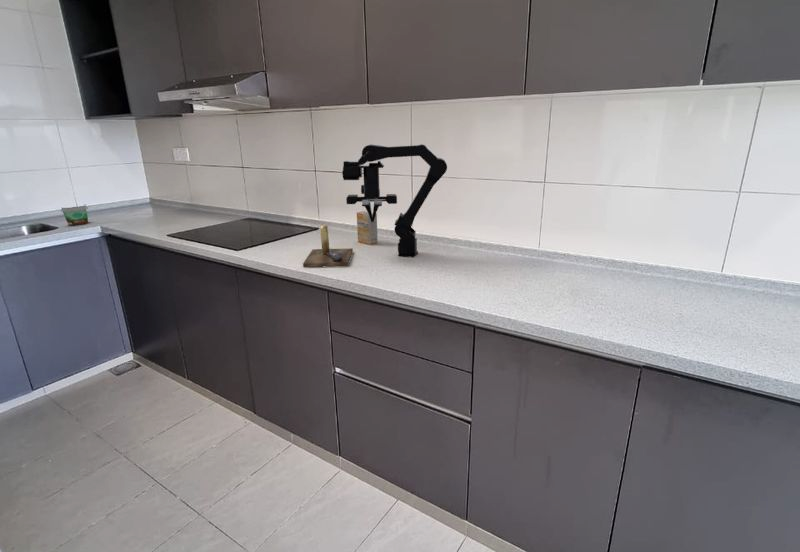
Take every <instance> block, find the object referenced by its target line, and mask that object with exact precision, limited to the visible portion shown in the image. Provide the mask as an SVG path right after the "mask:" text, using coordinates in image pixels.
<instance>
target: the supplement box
mask: <svg viewBox="0 0 800 552" xmlns="http://www.w3.org/2000/svg"><path fill="white" fill-rule="evenodd" d="M372 217H373V212H372ZM356 230H357V242H358V243H361V242H362V244H365V243H366V244H365V245H369V244H372V245H375V244H374V243H376V244H378V243H377V242H379V241H378V240H379V239H378V213H376V215H375V219H374V222H371V219H370V217H369V214H368V212H367V210H366V211H365V210H364V211H358V212H356Z"/></svg>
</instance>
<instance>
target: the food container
mask: <svg viewBox="0 0 800 552" xmlns="http://www.w3.org/2000/svg"><path fill="white" fill-rule="evenodd" d="M87 209H88V206H87V204H84V205H81V206H80V205H79V206H71V207H61V209H60V211H61V212H62V213H63V216H64V218H65V221H66V223H67V226H68V225H69V227H70V226H71V227H72V226H73V227H75V226H74V225H77V226H84V225H87V224H89V218H88V210H87Z"/></svg>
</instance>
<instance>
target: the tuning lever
mask: <svg viewBox="0 0 800 552" xmlns="http://www.w3.org/2000/svg"><path fill="white" fill-rule="evenodd" d="M319 228H320V231H319V232H320V240H321V243H320V244H321V248H320V249H321V250H322V253H323V254H326V255H328V256H330V257H331V258H332V260H333V261H341V260H342V253H341V252H334V253H332V252H330V250H329V249H330V241H329V238H330V237H329V229H328V225H325V224H323V225H320V226H319Z"/></svg>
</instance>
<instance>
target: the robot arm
mask: <svg viewBox="0 0 800 552" xmlns="http://www.w3.org/2000/svg"><path fill="white" fill-rule="evenodd" d="M403 157H406V158H407V157H420V158H421V159H422V160H423V161H424V162H426V164H427V165H428V166H429V169H428V172H427V173H426V174H427V175H426V178H425V179H424V182H423V183H422V184H421V186H420V188H419V189H418V191H417V193H416V195H415V196H414V198H413V200H412V202H411V203H410V204H409V206H408V208H407V210H406V211H405V213H402V212H400V213H399V216H398V218H397V219H396V220H395V221H394V233H395V235H396V236H397V237H399V240H398V243H397V253H398V255H397V256H398V257H408V256H411V257H410V258H414V256H415V257H416V256H417V254H418V253H419V251H418V240H417V239H418V238H416V233H417V232H416V230H415V229H414V228H413V227H412V226H413V223H414V221H415V217H416V216H417V214H418V213H419V212H420V209H421V208H422V206H423V204H424V202H425V201H426V200H427V198H428V196H429V194H430V193H431V191H432V189H433V187H434V185H436V184H437V182H438V181H440V179H441V178H442V177H443V176H444V175H445V174H446V173H447V170H448V165H447V163H446V160H445V159H443V158H442V157H437V156H436V154H434V153H433V152H432V151H431V150H430V149H428V148H427V146H426V145H425V144H422V143H421V144H417V145H416V144H415V145H414V144H413V145H399V146H398V145H397V146H384V145H379V144H378V145H376V144H368V145H365V146H364V147H363V149H362V150H361V156H360V158H359V159H358V161H348V160H347V161H346V160H345V161H343V166H342V171H341V173H342V180H343V181H360V178H363V184H361V185H360V186H361V187H360V188H361V189H360V192H361V193H360V194H361V195H363V196H359V195H358V194H347V196H346V205H356V204H357V203H359V202H361V203H362V204H361V206H362V207H364V208H365V210H366V212H368V214H369V217H370V219H371V222H374V219H375V215H376V214H377V212H378V209H379V207H382V204H383V202H386V203H387V204H388V205H394V204H395V205H397V204H398V195H397V194H396V193H391V194H390V193H387V194H386V196H380V195H381V194H380V193H381V189H380V169H382V168H383V169H384V167H385V165H384V164H383V162H381V160H383V159H387V158H403ZM376 161H377V162H376ZM366 163H368V165H365V164H366ZM371 202H373V209H372V204H371ZM372 210H373V211H372ZM372 213H373V217H372Z"/></svg>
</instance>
